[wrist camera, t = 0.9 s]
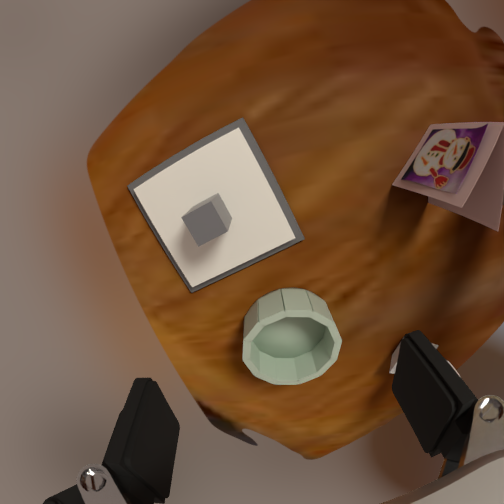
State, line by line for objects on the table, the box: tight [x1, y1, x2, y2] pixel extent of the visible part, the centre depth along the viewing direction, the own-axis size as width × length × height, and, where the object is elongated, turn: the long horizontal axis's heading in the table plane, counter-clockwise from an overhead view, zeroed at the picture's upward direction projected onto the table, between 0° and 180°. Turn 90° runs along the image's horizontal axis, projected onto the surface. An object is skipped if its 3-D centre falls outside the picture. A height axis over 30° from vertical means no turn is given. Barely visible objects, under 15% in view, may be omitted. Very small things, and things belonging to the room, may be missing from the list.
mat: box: [127, 118, 305, 293], centre depth 35 cm, size 17×17×1 cm
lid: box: [133, 128, 295, 287], centre depth 31 cm, size 15×15×7 cm
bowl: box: [243, 288, 342, 385], centre depth 38 cm, size 13×13×6 cm
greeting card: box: [392, 122, 504, 231], centre depth 26 cm, size 11×7×15 cm, turn 146°
